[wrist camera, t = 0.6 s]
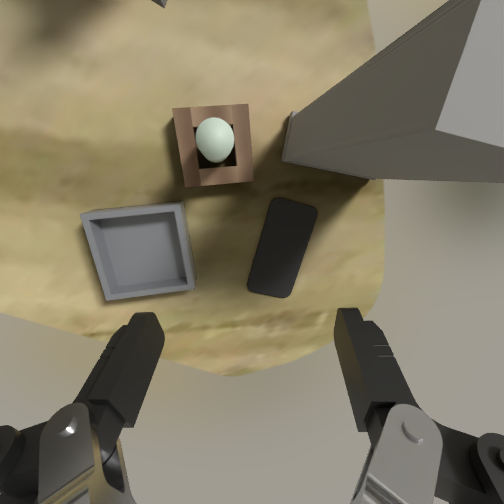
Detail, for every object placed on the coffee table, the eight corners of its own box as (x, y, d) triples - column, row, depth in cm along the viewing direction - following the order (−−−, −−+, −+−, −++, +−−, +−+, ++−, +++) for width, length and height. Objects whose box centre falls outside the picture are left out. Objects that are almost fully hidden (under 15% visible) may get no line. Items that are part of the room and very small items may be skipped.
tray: (116, 289, 36) (106, 300, 33) (93, 209, 32) (79, 214, 29) (196, 278, 37) (194, 288, 34) (183, 201, 33) (179, 204, 30)
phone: (320, 209, 36) (289, 299, 40) (317, 208, 37) (288, 296, 41) (272, 195, 34) (245, 290, 38) (271, 195, 35) (244, 288, 39)
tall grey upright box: (383, 134, 34) (752, 48, 11) (370, 179, 36) (661, 191, 12) (290, 111, 32) (499, -66, 8) (280, 161, 33) (430, 131, 10)
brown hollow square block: (187, 186, 33) (185, 187, 30) (175, 113, 30) (172, 108, 28) (251, 180, 34) (254, 181, 31) (245, 109, 31) (248, 103, 29)
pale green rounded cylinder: (204, 164, 32) (198, 160, 23) (200, 135, 31) (192, 118, 22) (230, 162, 33) (236, 157, 23) (227, 133, 32) (232, 116, 22)
